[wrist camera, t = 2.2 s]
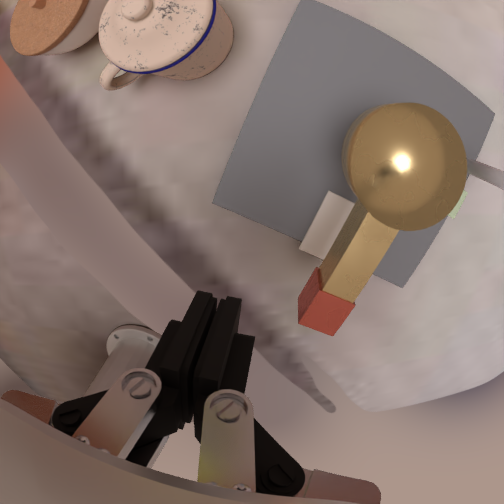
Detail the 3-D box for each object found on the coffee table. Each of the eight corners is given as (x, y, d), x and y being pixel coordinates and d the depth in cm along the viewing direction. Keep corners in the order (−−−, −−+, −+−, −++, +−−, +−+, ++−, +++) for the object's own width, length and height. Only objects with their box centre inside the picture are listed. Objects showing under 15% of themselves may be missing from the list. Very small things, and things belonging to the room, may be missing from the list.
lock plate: (401, 290, 32) (436, 364, 21) (212, 206, 30) (169, 260, 19) (494, 117, 22) (570, 131, 11) (302, -1, 20) (308, -64, 10)
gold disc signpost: (369, 83, 16) (385, 77, 13) (457, 141, 17) (484, 147, 14) (269, 284, 23) (266, 312, 20) (353, 318, 24) (360, 347, 21)
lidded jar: (99, 69, 25) (40, 64, 16) (42, 50, 24) (-13, 47, 15) (145, -16, 20) (98, -47, 12) (80, -25, 19) (31, -45, 11)
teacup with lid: (199, -15, 20) (153, -68, 10) (256, 43, 23) (234, -1, 12) (111, 62, 24) (35, 51, 14) (159, 120, 27) (90, 130, 17)
